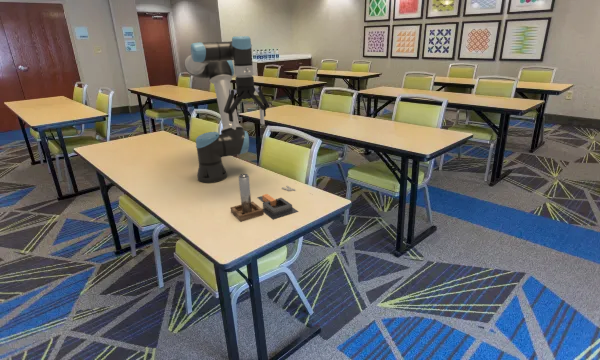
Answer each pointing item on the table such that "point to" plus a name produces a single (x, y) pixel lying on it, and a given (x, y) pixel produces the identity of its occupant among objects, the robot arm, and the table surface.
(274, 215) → the socket
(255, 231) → the table surface
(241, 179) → the grey cylindrical peg
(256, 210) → the tray
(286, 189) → the pliers
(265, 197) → the orange rectangular bar
